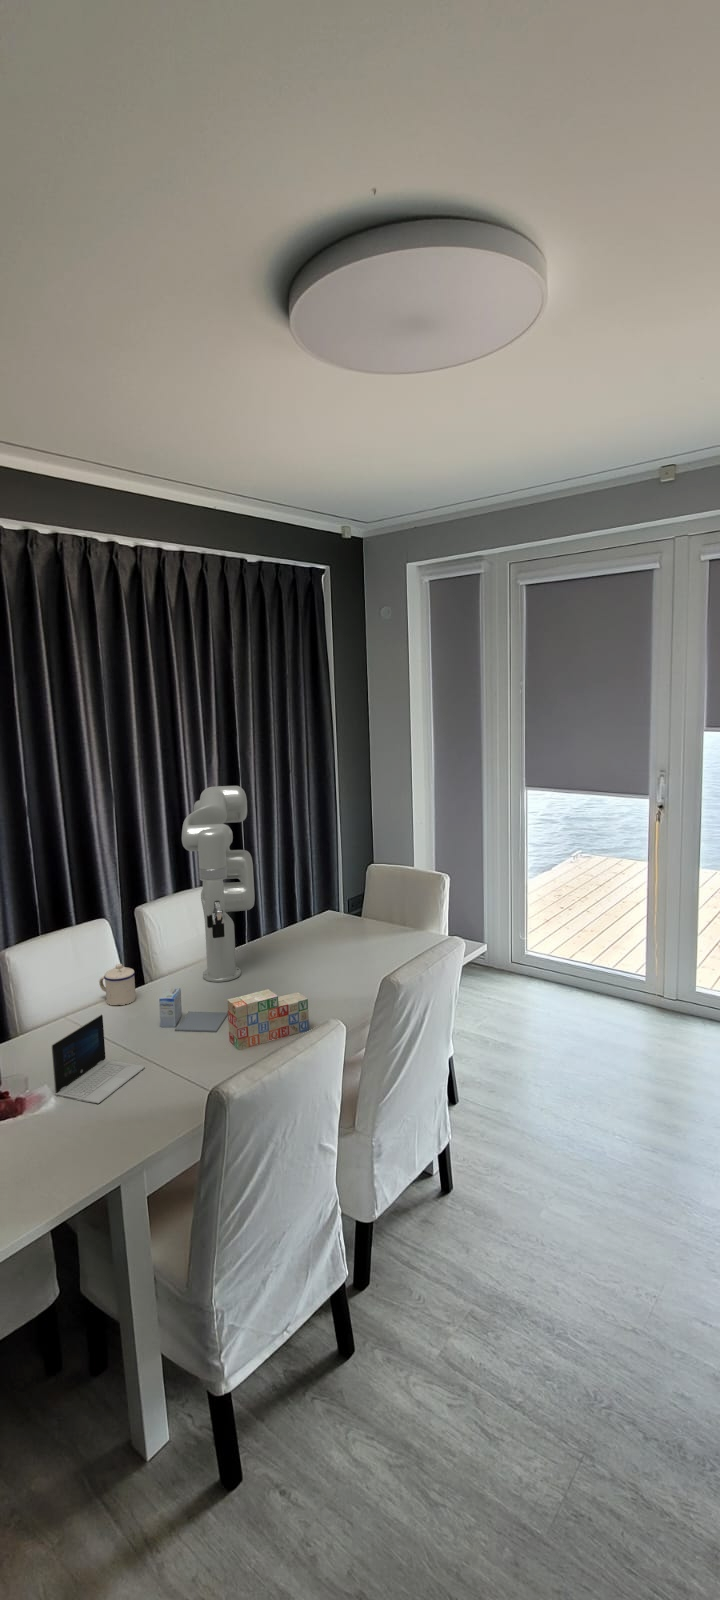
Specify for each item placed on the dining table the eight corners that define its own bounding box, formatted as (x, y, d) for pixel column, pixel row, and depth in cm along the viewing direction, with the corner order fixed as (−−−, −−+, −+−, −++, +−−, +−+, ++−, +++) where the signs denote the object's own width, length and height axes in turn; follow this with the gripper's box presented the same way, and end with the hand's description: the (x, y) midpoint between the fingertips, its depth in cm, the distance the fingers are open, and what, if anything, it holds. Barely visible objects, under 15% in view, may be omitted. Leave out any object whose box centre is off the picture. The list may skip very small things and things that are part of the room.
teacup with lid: (142, 996, 233) (140, 961, 231) (124, 1008, 224) (122, 971, 223) (110, 992, 237) (107, 957, 235) (91, 1003, 228) (88, 967, 226)
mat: (188, 1013, 220) (188, 1011, 220) (228, 1013, 219) (228, 1012, 219) (174, 1031, 208) (174, 1029, 208) (216, 1032, 207) (216, 1030, 207)
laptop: (98, 1105, 171) (94, 1052, 169) (54, 1097, 175) (50, 1045, 174) (145, 1068, 188) (142, 1020, 186) (104, 1061, 192) (101, 1013, 190)
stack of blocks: (299, 1022, 213) (297, 981, 211) (309, 1030, 207) (308, 988, 206) (228, 1041, 202) (226, 998, 200) (237, 1050, 196) (235, 1006, 195)
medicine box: (167, 1015, 219) (165, 987, 217) (182, 1015, 219) (180, 987, 217) (160, 1027, 211) (158, 998, 210) (176, 1027, 211) (174, 998, 210)
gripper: (195, 867, 214) (198, 925, 217) (203, 881, 198) (206, 943, 201) (221, 865, 217) (224, 922, 219) (231, 878, 201) (234, 939, 203)
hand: (215, 932), depth 210 cm, fingers open, 9 cm apart
